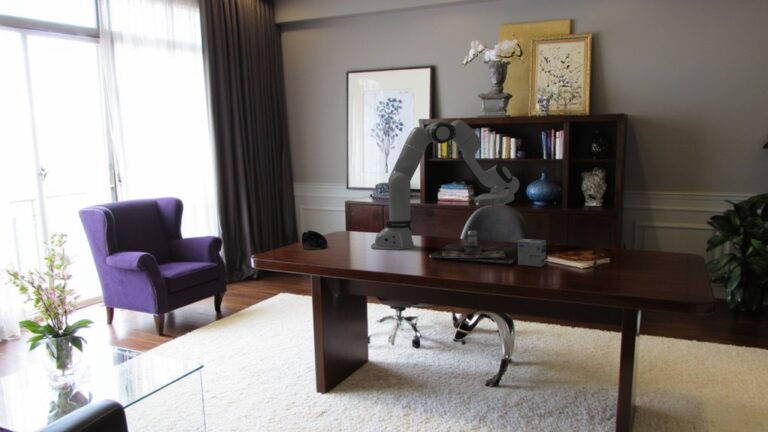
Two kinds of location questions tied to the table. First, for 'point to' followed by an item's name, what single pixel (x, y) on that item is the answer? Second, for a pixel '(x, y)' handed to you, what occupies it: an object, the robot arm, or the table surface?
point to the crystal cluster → (313, 240)
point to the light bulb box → (532, 252)
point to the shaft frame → (473, 251)
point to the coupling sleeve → (472, 237)
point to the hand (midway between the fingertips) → (484, 205)
